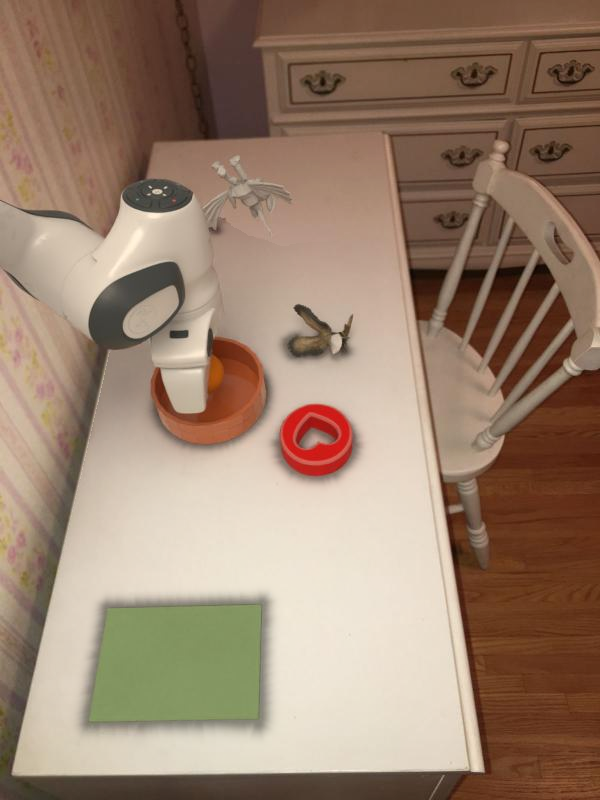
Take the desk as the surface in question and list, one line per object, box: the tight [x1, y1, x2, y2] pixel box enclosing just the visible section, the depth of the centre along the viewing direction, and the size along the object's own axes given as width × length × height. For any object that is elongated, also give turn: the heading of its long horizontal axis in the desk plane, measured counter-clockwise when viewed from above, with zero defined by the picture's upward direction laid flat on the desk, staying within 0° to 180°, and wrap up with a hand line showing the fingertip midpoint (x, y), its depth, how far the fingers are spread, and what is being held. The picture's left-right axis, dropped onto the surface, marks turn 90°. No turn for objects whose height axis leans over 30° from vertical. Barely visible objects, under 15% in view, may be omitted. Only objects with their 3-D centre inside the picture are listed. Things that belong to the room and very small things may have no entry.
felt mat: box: [88, 604, 263, 723], centre depth 71 cm, size 18×12×1 cm, turn 90°
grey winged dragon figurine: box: [202, 154, 295, 239], centre depth 109 cm, size 10×18×14 cm, turn 85°
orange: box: [208, 354, 224, 394], centre depth 88 cm, size 6×6×6 cm
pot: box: [150, 336, 267, 445], centre depth 91 cm, size 16×16×4 cm
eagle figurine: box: [286, 303, 354, 357], centre depth 95 cm, size 8×7×9 cm
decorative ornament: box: [279, 403, 354, 477], centre depth 86 cm, size 10×10×3 cm
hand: (204, 376), depth 88 cm, fingers closed on orange, 5 cm apart
